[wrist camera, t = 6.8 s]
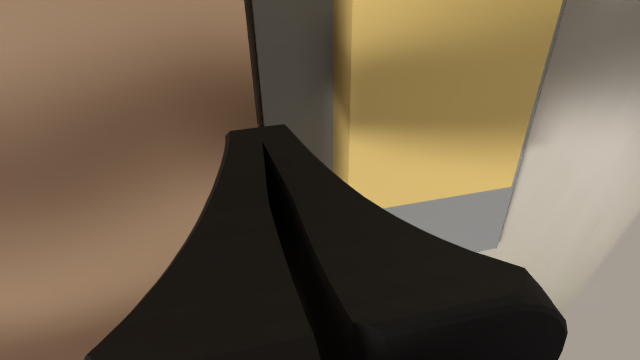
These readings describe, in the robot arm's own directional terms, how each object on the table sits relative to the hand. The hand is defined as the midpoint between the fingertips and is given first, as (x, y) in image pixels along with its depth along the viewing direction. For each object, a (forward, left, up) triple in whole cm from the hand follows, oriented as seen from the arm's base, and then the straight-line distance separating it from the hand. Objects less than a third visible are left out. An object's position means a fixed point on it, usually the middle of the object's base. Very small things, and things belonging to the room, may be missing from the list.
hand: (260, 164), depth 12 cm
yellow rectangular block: (0, -6, -3) cm, 6 cm away
